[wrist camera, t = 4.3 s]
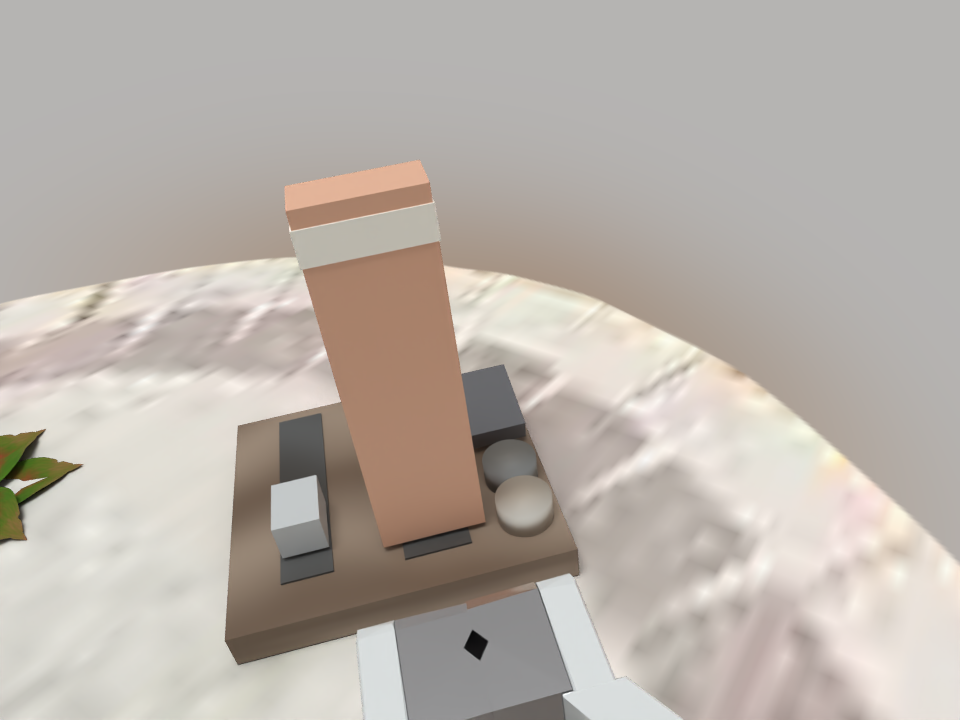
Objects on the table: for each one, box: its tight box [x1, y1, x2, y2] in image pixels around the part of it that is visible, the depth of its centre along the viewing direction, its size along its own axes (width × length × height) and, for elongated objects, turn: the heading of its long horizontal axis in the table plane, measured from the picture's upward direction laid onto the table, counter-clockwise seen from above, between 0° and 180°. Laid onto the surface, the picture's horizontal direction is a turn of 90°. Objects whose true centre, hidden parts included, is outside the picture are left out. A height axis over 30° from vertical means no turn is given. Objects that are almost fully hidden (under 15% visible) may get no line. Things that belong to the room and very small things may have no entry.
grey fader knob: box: [271, 475, 329, 558], centre depth 29 cm, size 2×2×2 cm
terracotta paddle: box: [285, 160, 486, 548], centre depth 26 cm, size 2×4×14 cm, turn 103°
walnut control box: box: [225, 402, 579, 664], centre depth 32 cm, size 12×13×3 cm
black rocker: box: [461, 364, 526, 448], centre depth 34 cm, size 4×2×1 cm, turn 13°
